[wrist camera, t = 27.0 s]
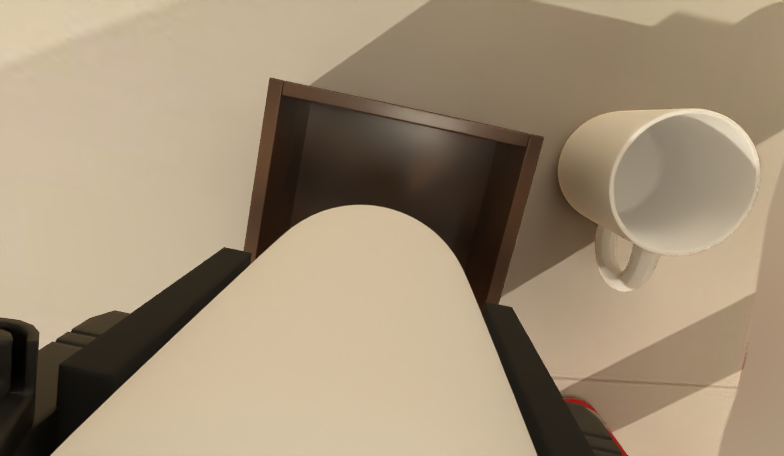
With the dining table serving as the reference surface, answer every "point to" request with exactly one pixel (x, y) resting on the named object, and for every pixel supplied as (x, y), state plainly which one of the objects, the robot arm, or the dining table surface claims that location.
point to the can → (324, 357)
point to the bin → (393, 174)
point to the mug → (658, 184)
